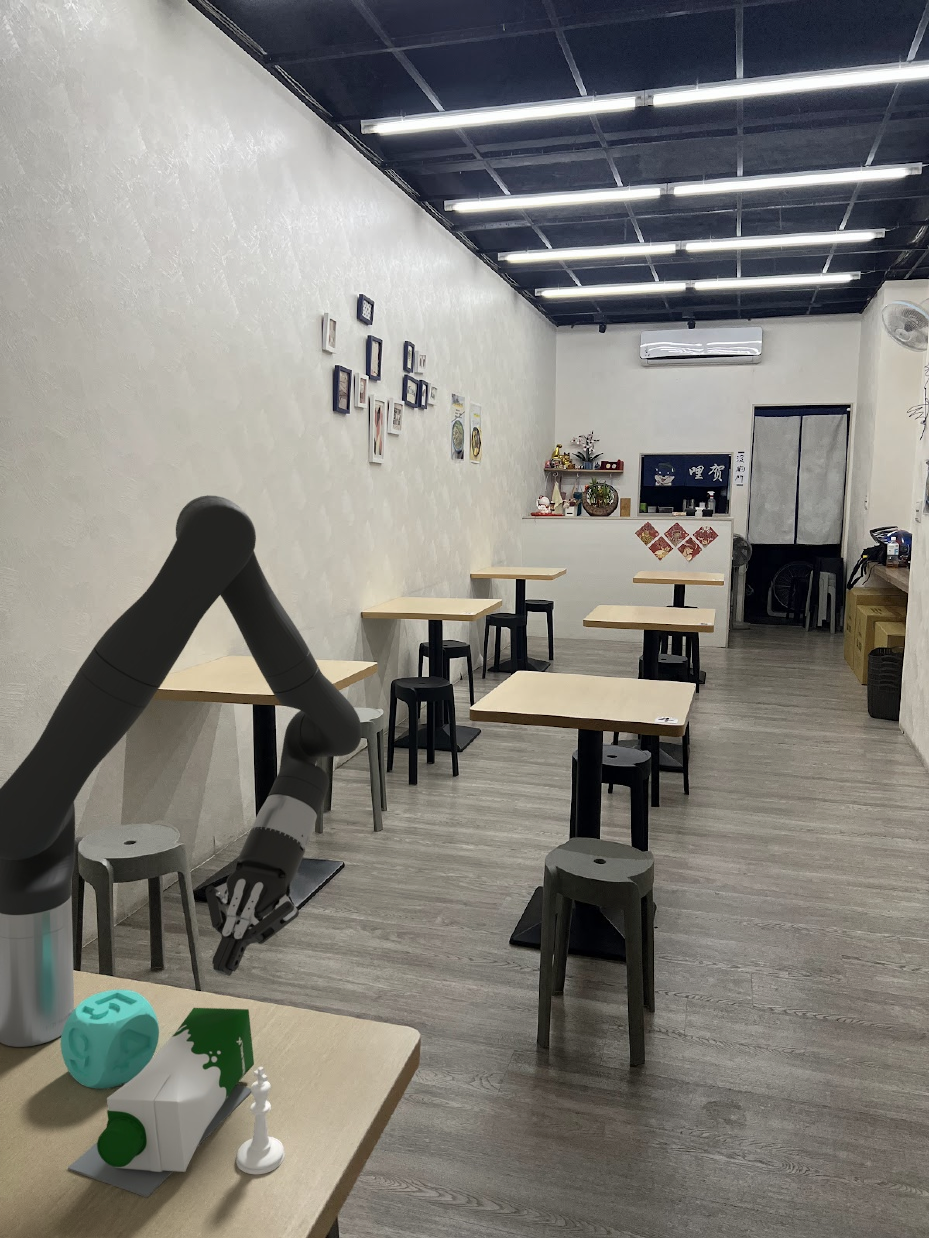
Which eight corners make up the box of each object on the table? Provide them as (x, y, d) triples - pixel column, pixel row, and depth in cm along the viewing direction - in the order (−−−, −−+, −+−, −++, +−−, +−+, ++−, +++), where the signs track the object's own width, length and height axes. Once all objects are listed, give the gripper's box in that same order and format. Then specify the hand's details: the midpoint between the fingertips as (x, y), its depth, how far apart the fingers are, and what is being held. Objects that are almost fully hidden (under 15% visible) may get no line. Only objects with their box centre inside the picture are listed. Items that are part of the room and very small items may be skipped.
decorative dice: (160, 1062, 110) (160, 1000, 109) (105, 1098, 103) (104, 1032, 102) (116, 1042, 114) (115, 982, 113) (60, 1074, 107) (58, 1011, 106)
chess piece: (264, 1134, 98) (264, 1048, 96) (294, 1156, 94) (294, 1066, 93) (226, 1159, 94) (226, 1069, 93) (256, 1182, 91) (256, 1089, 90)
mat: (67, 1169, 92) (67, 1167, 92) (182, 1069, 108) (182, 1068, 108) (147, 1197, 88) (147, 1195, 88) (252, 1090, 105) (252, 1088, 105)
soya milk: (186, 999, 108) (88, 1105, 89) (256, 1001, 107) (172, 1109, 87) (193, 1068, 109) (98, 1188, 90) (263, 1071, 107) (182, 1194, 88)
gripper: (223, 817, 116) (160, 950, 106) (313, 832, 111) (256, 972, 101) (247, 844, 121) (189, 972, 111) (333, 859, 117) (281, 994, 107)
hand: (221, 972), depth 106 cm, fingers closed
